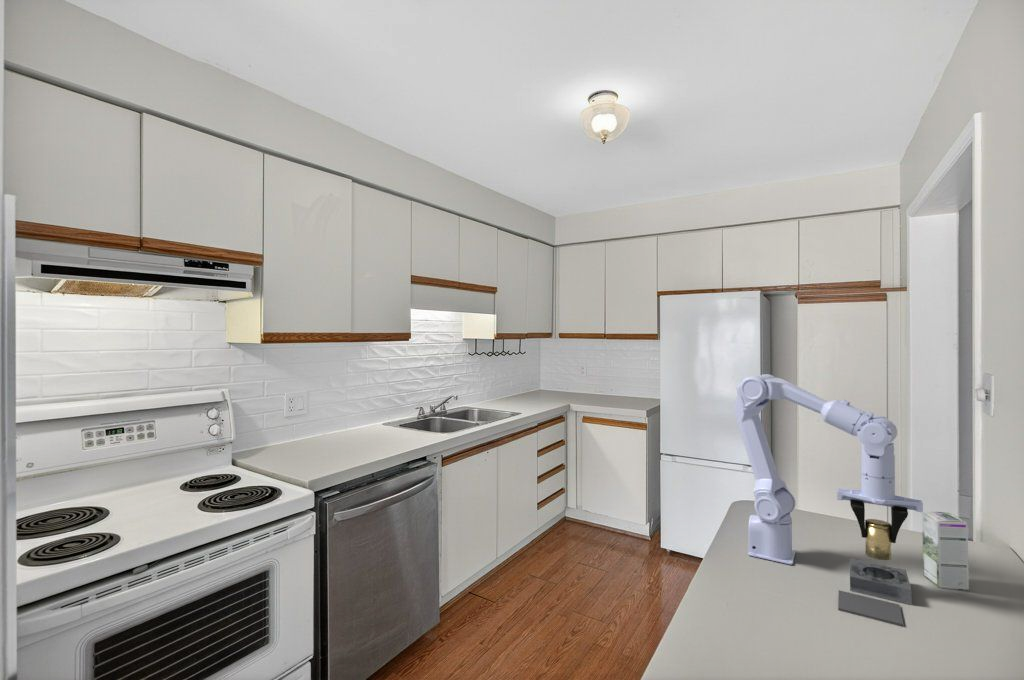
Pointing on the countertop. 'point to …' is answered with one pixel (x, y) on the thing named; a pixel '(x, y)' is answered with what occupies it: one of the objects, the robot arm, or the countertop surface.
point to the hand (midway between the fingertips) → (878, 538)
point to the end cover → (878, 539)
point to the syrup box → (945, 550)
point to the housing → (880, 581)
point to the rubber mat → (870, 608)
